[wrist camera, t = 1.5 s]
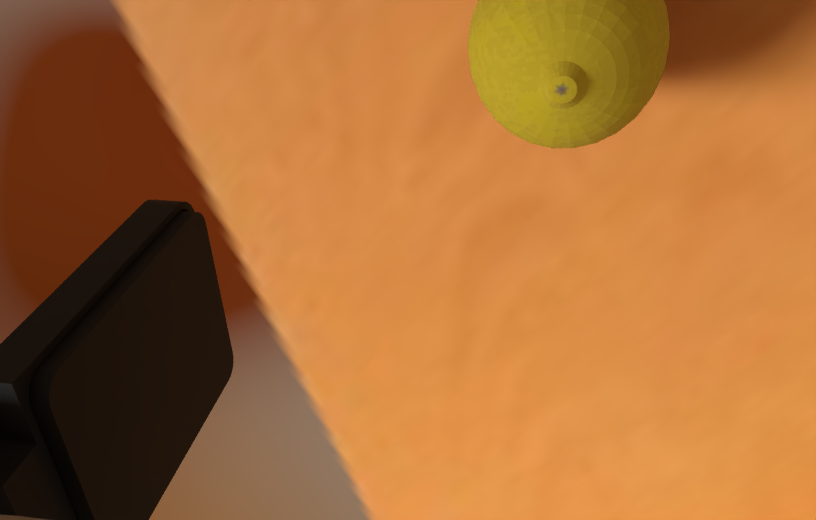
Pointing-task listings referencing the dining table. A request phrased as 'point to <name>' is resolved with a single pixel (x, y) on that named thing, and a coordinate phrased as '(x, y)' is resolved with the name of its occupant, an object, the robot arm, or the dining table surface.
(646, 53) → the lemon
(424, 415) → the dining table surface
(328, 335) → the dining table surface
